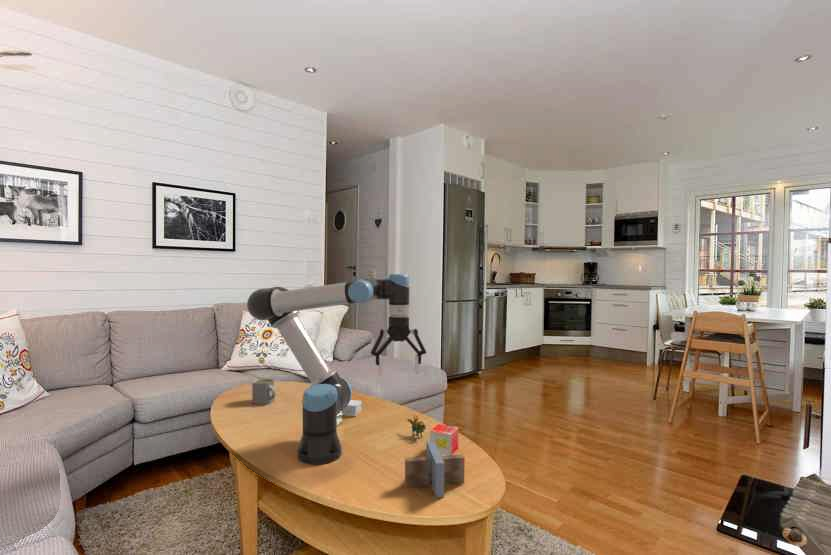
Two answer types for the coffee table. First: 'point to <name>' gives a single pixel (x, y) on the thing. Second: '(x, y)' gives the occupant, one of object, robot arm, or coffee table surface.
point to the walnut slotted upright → (421, 476)
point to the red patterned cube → (445, 439)
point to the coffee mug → (263, 391)
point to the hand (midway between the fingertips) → (398, 373)
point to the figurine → (417, 426)
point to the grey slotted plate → (435, 468)
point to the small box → (352, 408)
